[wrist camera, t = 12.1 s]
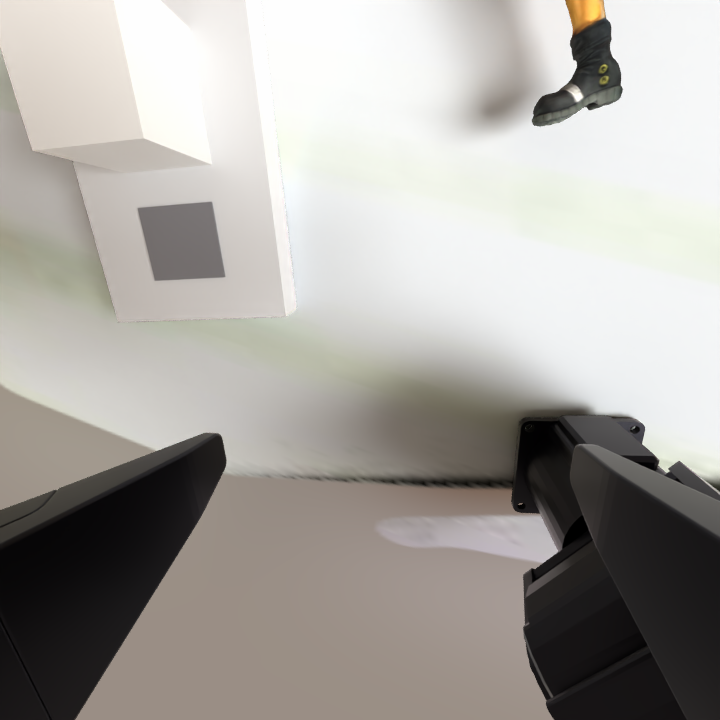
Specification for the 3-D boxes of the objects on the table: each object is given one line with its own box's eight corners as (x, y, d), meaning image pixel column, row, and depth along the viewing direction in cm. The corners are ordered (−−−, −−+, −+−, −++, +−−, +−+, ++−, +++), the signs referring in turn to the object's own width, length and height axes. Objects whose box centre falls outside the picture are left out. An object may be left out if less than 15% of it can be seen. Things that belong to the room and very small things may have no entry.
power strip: (297, 309, 20) (282, 319, 18) (143, 315, 22) (109, 324, 19) (239, -184, 14) (203, -274, 12) (28, -130, 15) (-44, -200, 13)
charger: (232, 172, 18) (143, 138, 12) (153, 179, 19) (32, 150, 13) (213, 51, 17) (101, -58, 11) (127, 64, 17) (-25, -32, 11)
